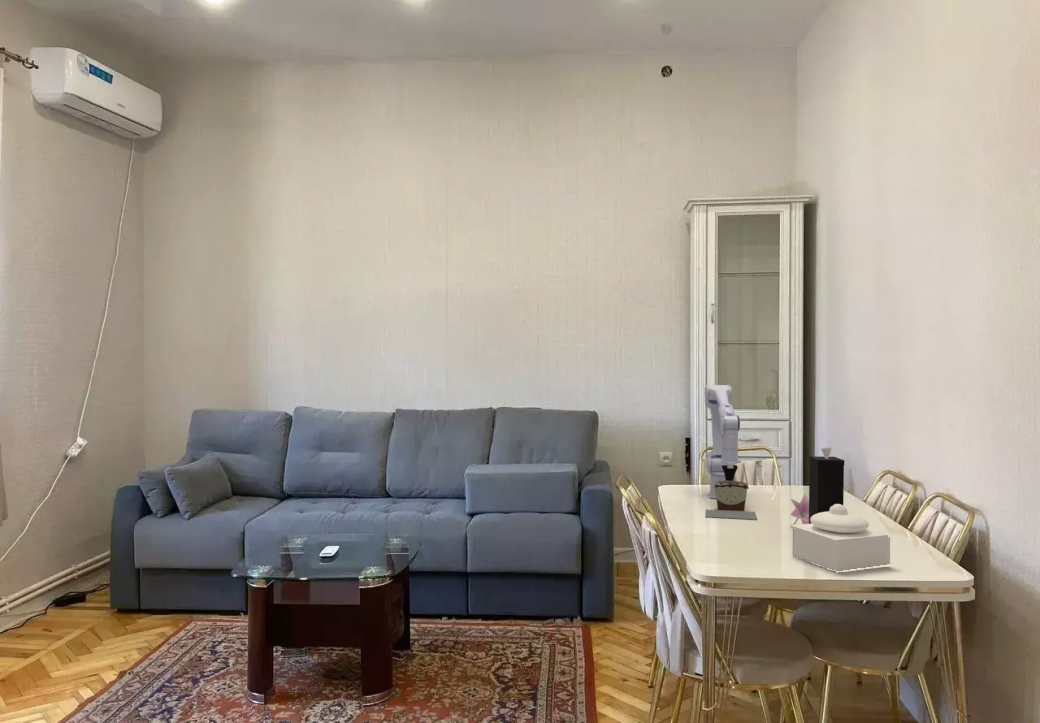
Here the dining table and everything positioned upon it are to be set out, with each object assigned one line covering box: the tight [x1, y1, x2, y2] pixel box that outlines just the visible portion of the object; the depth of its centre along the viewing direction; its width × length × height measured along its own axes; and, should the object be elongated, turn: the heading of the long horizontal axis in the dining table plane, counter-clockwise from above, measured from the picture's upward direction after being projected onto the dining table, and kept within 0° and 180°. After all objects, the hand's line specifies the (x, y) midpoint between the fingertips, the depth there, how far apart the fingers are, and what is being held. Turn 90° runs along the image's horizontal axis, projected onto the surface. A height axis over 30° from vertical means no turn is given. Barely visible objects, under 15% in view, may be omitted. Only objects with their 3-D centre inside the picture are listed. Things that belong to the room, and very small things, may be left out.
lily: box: [790, 494, 809, 525], centre depth 253 cm, size 12×12×10 cm
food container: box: [714, 480, 750, 512], centre depth 279 cm, size 12×6×10 cm, turn 84°
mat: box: [705, 509, 758, 521], centre depth 270 cm, size 12×17×1 cm
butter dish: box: [790, 504, 891, 571], centre depth 211 cm, size 18×18×16 cm
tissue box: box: [808, 447, 845, 524], centre depth 236 cm, size 8×8×28 cm
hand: (729, 485), depth 284 cm, fingers closed
